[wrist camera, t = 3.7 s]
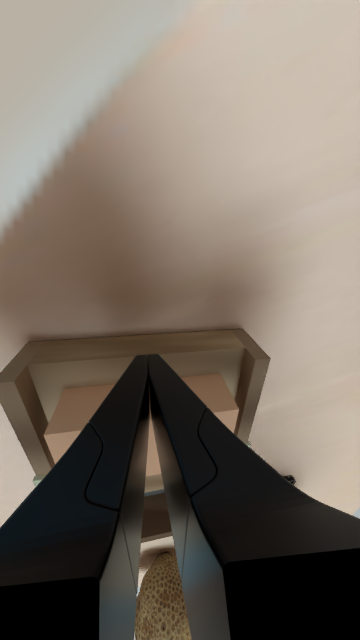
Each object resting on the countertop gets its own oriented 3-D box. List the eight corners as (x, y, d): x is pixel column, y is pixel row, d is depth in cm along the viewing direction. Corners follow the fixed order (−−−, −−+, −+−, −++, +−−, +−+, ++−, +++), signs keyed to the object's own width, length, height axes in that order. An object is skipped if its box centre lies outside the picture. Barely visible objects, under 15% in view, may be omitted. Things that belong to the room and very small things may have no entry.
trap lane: (214, 483, 26) (226, 527, 22) (85, 508, 23) (75, 562, 19) (243, 328, 16) (274, 361, 12) (26, 342, 13) (-16, 388, 10)
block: (213, 422, 16) (227, 462, 14) (79, 441, 15) (65, 490, 12) (220, 373, 14) (238, 409, 12) (63, 389, 12) (43, 435, 10)
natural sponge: (173, 566, 36) (184, 679, 27) (125, 569, 33) (119, 699, 24) (200, 541, 33) (222, 659, 24) (149, 542, 30) (153, 678, 21)
